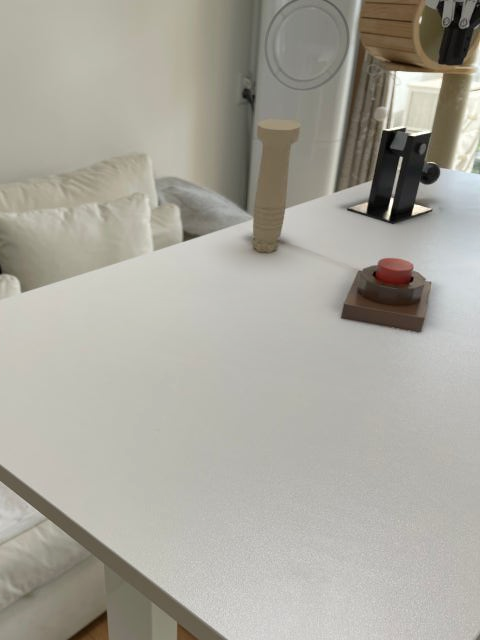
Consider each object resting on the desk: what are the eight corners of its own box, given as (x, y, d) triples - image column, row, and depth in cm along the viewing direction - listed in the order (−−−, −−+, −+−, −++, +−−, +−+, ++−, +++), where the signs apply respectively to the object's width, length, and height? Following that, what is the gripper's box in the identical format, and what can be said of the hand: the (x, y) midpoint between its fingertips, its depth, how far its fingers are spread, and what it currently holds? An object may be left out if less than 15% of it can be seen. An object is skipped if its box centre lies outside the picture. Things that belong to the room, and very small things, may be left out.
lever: (418, 185, 101) (428, 165, 100) (436, 190, 99) (447, 169, 98) (384, 149, 91) (395, 127, 90) (404, 154, 89) (416, 131, 88)
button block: (355, 284, 75) (361, 254, 73) (427, 296, 73) (435, 266, 71) (340, 318, 68) (346, 287, 66) (420, 333, 65) (429, 301, 63)
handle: (285, 242, 86) (301, 120, 78) (281, 260, 81) (298, 131, 73) (249, 239, 87) (260, 118, 78) (243, 256, 82) (255, 128, 73)
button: (377, 271, 70) (380, 255, 69) (411, 276, 69) (415, 260, 68) (372, 283, 68) (376, 267, 67) (408, 288, 67) (412, 272, 66)
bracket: (385, 204, 101) (402, 122, 95) (430, 217, 96) (452, 131, 90) (345, 216, 96) (361, 130, 89) (391, 230, 91) (411, 140, 84)
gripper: (582, -124, 69) (521, 70, 80) (456, -116, 79) (416, 57, 89) (548, -132, 65) (488, 73, 76) (420, -123, 75) (383, 59, 85)
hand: (450, 64), depth 83 cm, fingers closed
